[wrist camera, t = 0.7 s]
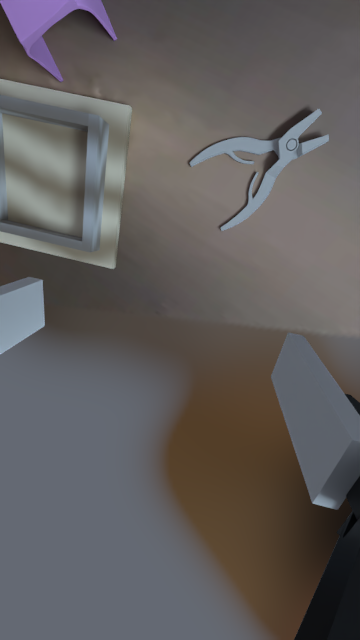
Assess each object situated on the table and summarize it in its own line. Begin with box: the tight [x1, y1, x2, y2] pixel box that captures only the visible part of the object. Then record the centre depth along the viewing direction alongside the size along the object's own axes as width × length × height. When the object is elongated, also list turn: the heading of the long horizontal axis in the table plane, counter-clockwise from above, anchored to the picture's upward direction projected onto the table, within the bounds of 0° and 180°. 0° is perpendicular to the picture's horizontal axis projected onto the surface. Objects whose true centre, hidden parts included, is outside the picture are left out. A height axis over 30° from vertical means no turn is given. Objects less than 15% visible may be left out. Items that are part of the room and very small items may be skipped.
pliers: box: [190, 109, 329, 231], centre depth 31 cm, size 10×2×15 cm
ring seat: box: [0, 79, 132, 269], centre depth 34 cm, size 20×20×4 cm
